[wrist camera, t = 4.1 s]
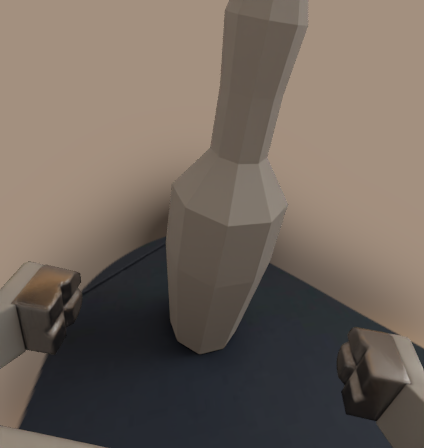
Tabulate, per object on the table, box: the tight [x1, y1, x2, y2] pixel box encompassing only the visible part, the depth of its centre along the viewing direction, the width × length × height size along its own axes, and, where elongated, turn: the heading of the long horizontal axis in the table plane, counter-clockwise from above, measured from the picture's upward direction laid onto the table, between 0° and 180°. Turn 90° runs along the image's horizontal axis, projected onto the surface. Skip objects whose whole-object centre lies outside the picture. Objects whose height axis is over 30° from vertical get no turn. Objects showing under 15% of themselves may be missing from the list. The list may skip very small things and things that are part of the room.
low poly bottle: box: [166, 0, 308, 354], centre depth 20 cm, size 6×6×22 cm
